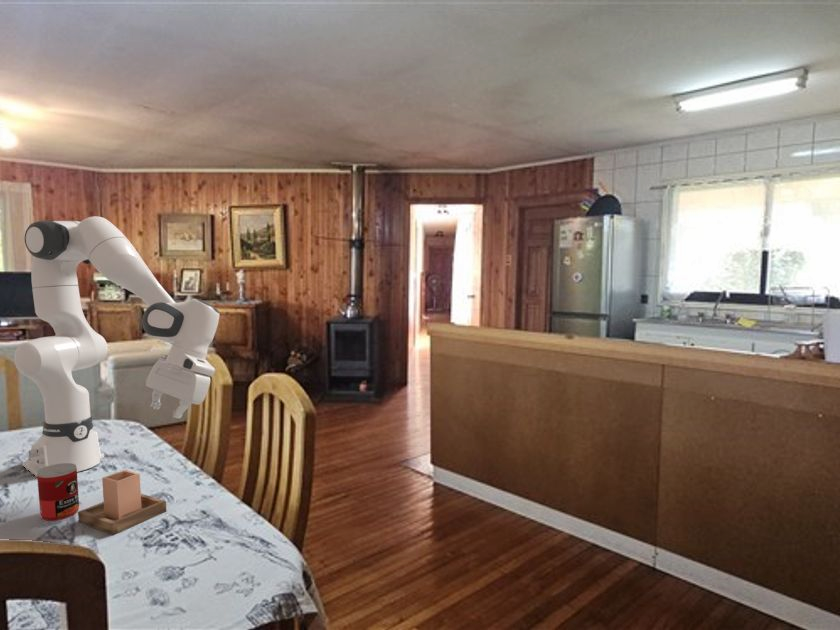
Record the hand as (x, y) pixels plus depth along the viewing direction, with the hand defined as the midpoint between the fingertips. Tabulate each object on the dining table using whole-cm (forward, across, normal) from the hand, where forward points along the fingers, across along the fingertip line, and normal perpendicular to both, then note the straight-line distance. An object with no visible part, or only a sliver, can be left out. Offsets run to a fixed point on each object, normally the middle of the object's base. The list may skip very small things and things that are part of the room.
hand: (165, 413), depth 136 cm
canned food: (+29, -9, -10) cm, 32 cm away
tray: (+24, +5, -4) cm, 25 cm away
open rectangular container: (+24, +5, -4) cm, 24 cm away
